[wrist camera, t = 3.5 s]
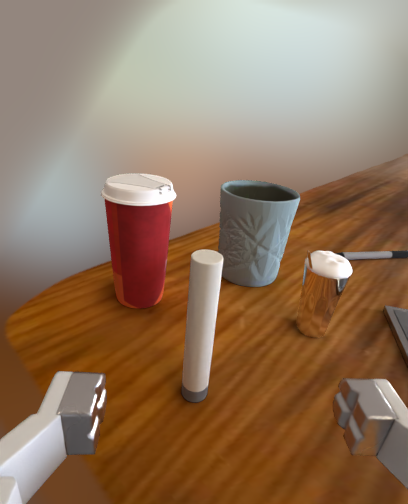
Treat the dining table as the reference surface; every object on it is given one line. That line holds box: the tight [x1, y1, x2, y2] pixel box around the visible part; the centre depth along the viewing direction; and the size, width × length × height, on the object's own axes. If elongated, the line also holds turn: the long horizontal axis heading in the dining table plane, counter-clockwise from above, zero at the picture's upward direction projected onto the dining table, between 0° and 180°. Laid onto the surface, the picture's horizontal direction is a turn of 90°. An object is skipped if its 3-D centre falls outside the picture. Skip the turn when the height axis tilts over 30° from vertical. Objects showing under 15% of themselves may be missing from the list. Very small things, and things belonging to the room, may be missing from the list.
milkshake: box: [296, 251, 352, 338], centre depth 35 cm, size 4×5×10 cm
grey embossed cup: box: [218, 180, 300, 287], centre depth 46 cm, size 10×10×12 cm
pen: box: [335, 250, 408, 260], centre depth 56 cm, size 1×16×1 cm, turn 103°
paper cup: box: [101, 174, 176, 308], centre depth 38 cm, size 8×8×14 cm
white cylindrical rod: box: [182, 250, 223, 402], centre depth 26 cm, size 2×2×13 cm
